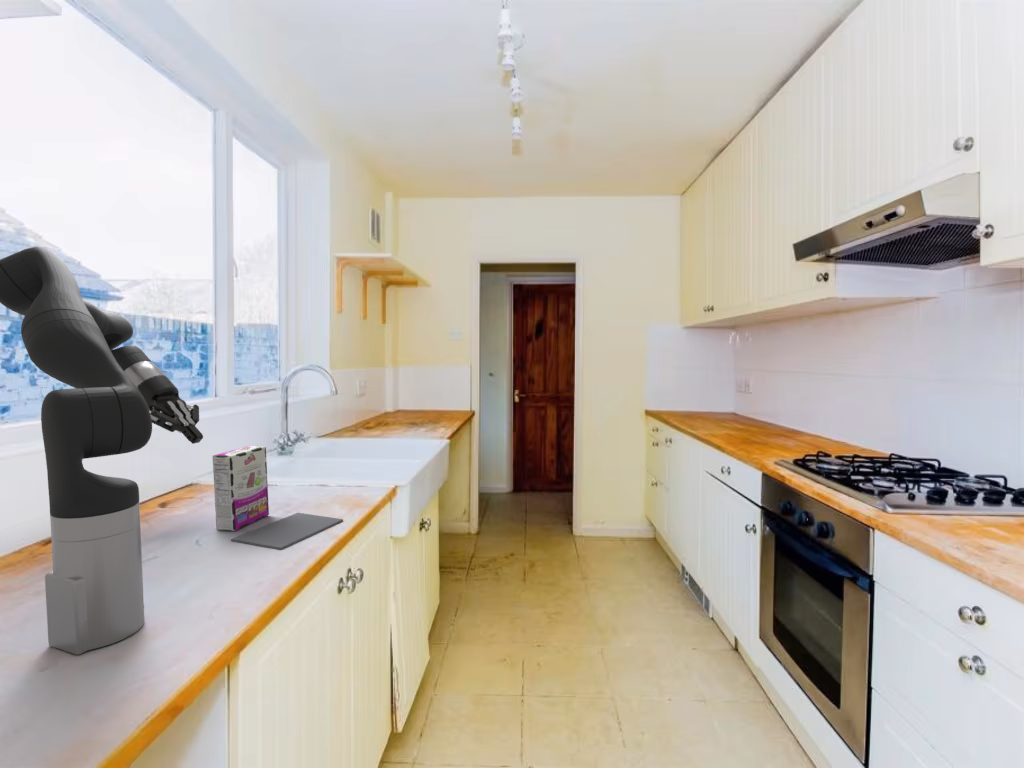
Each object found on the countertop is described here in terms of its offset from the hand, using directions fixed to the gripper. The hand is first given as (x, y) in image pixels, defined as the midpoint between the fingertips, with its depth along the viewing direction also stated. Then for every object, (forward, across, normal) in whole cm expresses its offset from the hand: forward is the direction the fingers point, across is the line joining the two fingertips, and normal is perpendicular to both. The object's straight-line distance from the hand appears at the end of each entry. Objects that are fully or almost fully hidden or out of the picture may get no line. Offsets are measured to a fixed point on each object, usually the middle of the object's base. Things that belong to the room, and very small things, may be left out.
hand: (198, 440), depth 114 cm
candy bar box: (+21, 0, -5) cm, 21 cm away
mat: (+30, +2, +4) cm, 30 cm away
